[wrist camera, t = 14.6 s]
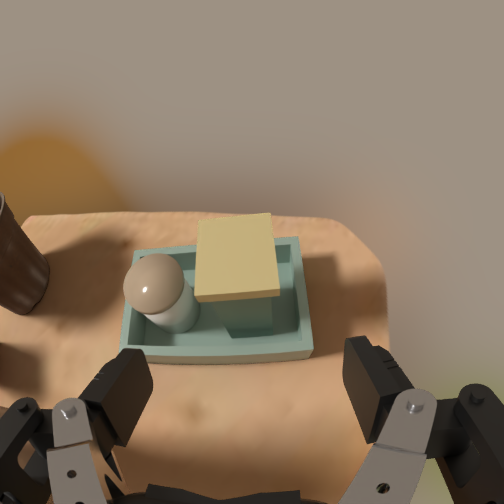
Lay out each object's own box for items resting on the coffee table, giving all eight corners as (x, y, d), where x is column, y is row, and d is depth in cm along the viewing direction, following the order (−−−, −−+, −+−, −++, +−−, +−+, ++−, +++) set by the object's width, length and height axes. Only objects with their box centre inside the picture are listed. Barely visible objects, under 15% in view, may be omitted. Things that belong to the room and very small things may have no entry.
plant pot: (65, 237, 42) (16, 176, 29) (54, 320, 33) (-20, 267, 20) (13, 257, 41) (-33, 210, 28) (0, 329, 33) (-61, 288, 19)
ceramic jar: (150, 335, 31) (118, 311, 24) (155, 287, 34) (129, 255, 28) (201, 335, 30) (179, 311, 24) (203, 285, 34) (184, 250, 27)
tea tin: (226, 343, 30) (194, 295, 19) (225, 290, 33) (198, 220, 22) (279, 339, 29) (279, 288, 18) (273, 285, 33) (270, 212, 22)
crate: (138, 362, 30) (118, 353, 26) (149, 269, 37) (134, 250, 33) (308, 358, 29) (313, 349, 25) (296, 259, 36) (298, 236, 32)
